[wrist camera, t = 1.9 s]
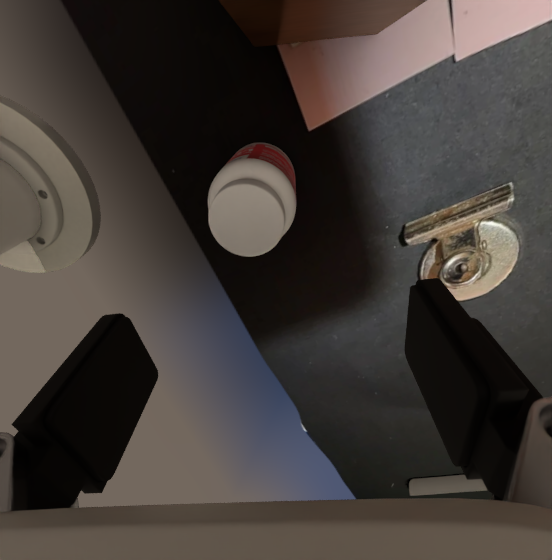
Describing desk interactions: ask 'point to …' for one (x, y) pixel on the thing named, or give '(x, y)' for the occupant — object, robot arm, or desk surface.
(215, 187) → the pill bottle
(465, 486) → the gray half cylinder
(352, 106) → the desk surface
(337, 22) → the stand
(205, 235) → the desk surface
